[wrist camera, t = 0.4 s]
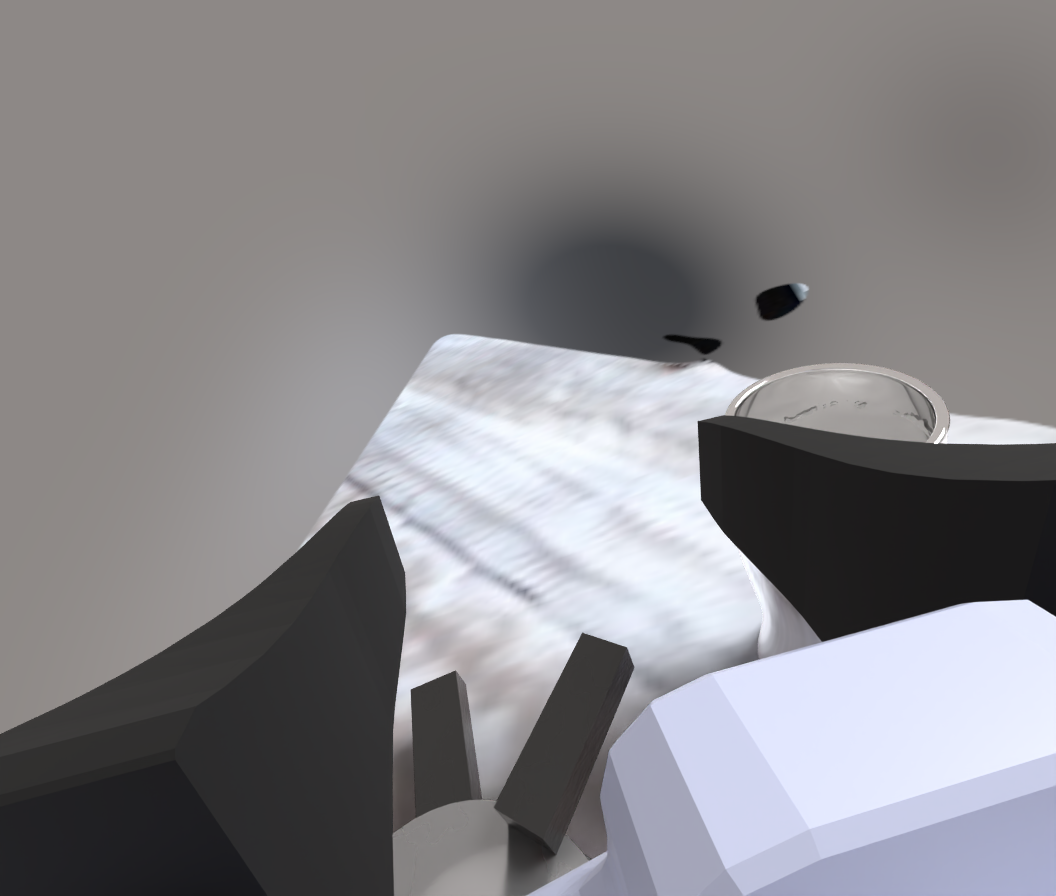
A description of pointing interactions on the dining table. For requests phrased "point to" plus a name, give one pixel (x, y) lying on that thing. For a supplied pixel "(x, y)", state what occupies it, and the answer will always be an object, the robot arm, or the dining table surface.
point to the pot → (443, 745)
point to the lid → (522, 796)
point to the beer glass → (841, 407)
